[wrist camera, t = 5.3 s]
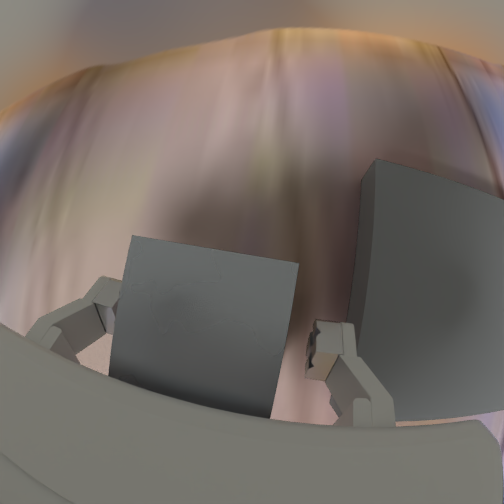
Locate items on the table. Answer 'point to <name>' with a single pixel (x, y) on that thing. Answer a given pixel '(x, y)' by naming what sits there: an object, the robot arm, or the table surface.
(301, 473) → the robot arm
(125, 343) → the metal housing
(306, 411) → the table surface
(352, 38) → the table surface
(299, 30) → the table surface
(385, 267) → the charcoal stand
